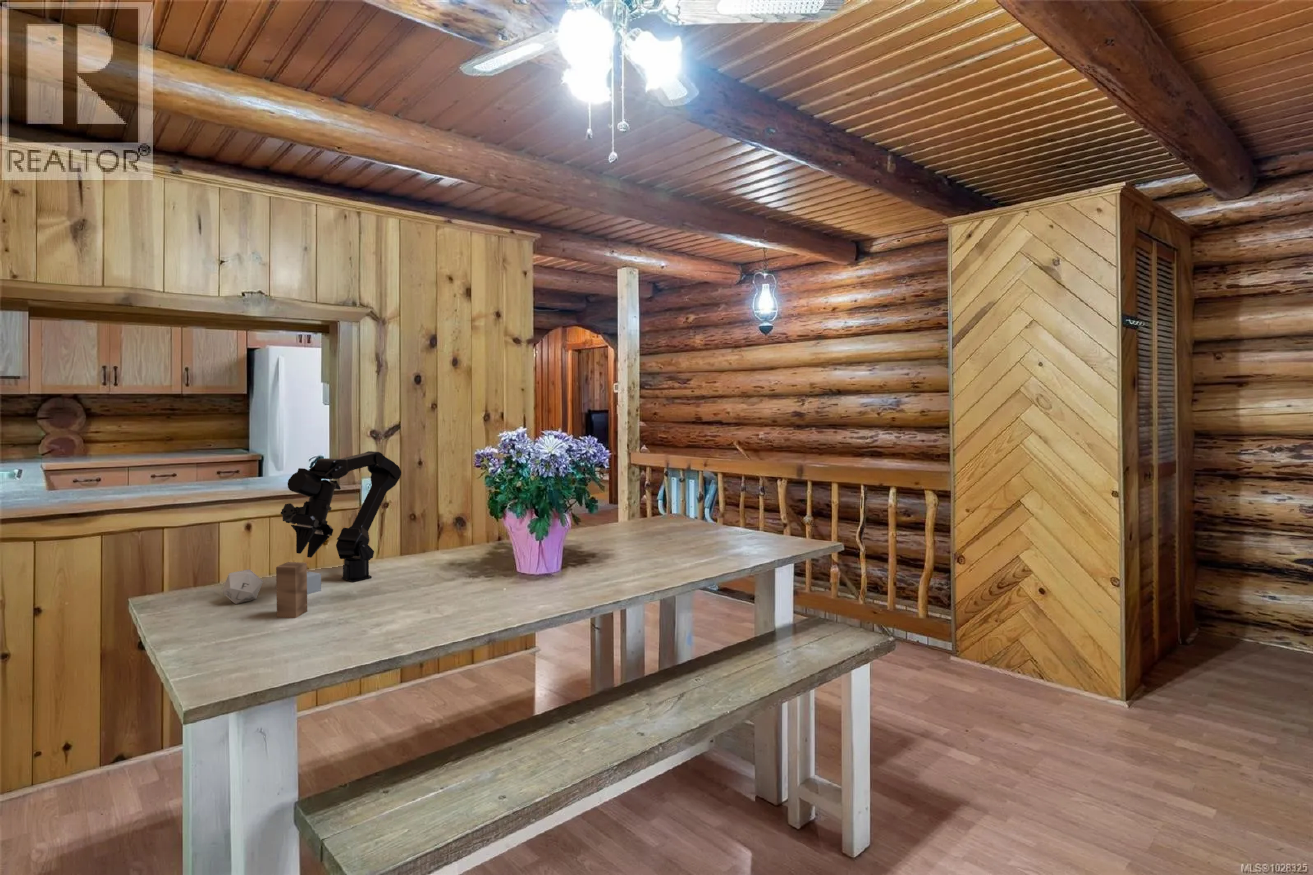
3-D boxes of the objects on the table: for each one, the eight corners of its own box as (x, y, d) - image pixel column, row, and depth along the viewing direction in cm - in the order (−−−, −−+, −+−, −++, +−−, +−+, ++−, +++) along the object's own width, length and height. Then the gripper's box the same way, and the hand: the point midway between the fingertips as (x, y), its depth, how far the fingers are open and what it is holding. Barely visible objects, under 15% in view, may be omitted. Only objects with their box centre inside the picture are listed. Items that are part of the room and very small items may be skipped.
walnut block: (288, 610, 174) (288, 562, 173) (307, 611, 174) (306, 562, 173) (276, 617, 169) (276, 566, 168) (296, 617, 169) (295, 567, 168)
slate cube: (309, 588, 194) (309, 571, 194) (321, 590, 192) (320, 573, 192) (293, 592, 190) (293, 575, 190) (305, 595, 188) (305, 578, 187)
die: (214, 607, 178) (225, 581, 174) (224, 583, 185) (235, 558, 181) (249, 614, 182) (260, 589, 178) (258, 590, 189) (269, 566, 185)
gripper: (301, 502, 197) (285, 555, 192) (278, 489, 180) (260, 546, 175) (340, 508, 199) (325, 561, 194) (321, 496, 181) (304, 553, 176)
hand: (303, 555), depth 185 cm, fingers open, 9 cm apart
